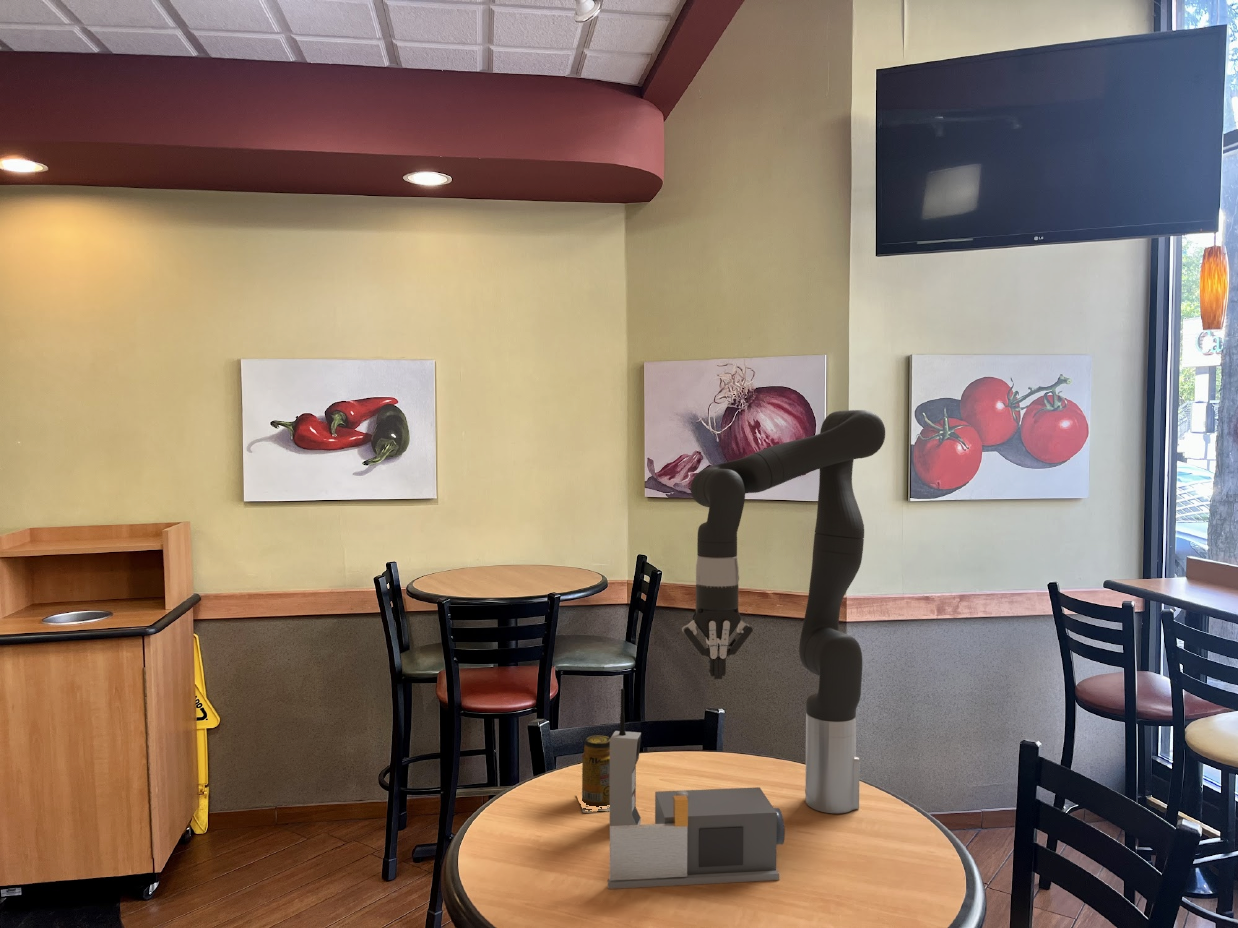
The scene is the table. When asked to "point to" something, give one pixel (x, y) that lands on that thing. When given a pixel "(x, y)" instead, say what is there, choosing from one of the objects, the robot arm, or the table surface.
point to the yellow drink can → (596, 772)
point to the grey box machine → (722, 837)
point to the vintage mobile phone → (623, 774)
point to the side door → (651, 847)
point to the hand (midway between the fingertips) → (716, 678)
